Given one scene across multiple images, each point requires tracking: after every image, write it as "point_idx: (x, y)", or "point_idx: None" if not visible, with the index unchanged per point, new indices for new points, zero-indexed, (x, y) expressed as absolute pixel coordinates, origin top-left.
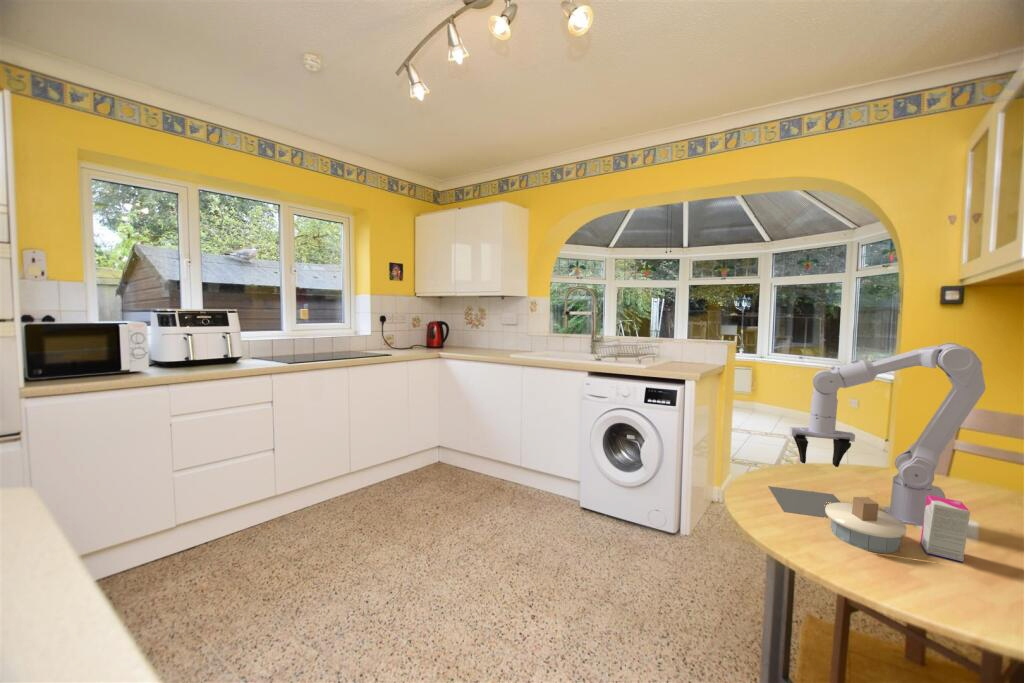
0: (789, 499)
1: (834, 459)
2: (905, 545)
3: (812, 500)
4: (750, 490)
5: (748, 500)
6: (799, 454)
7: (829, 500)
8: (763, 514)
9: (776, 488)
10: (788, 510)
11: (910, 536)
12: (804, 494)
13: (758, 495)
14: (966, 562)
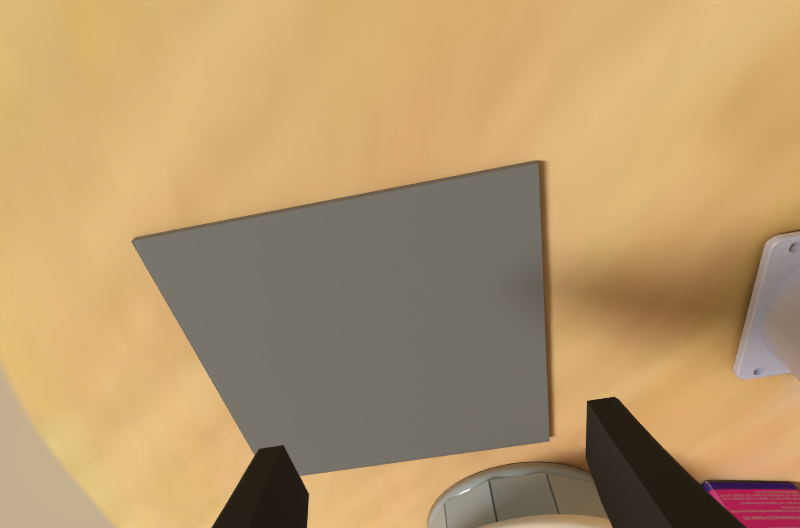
0: (278, 368)
1: (618, 490)
2: None
3: (390, 327)
4: (72, 334)
5: (115, 439)
6: (222, 515)
7: (484, 284)
8: (206, 510)
9: (187, 255)
10: None
11: (704, 450)
12: (352, 265)
13: (131, 374)
14: None
